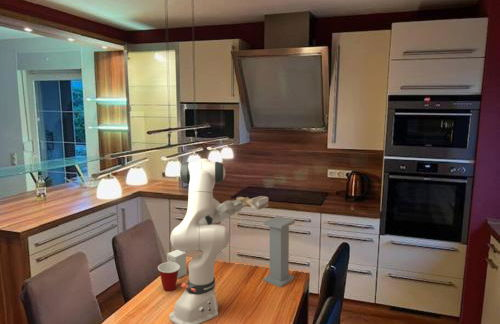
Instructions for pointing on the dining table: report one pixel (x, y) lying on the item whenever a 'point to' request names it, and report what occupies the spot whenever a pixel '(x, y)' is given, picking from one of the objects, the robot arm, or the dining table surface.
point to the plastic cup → (168, 275)
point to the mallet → (255, 202)
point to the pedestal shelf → (279, 251)
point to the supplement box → (178, 261)
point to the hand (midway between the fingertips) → (243, 200)
